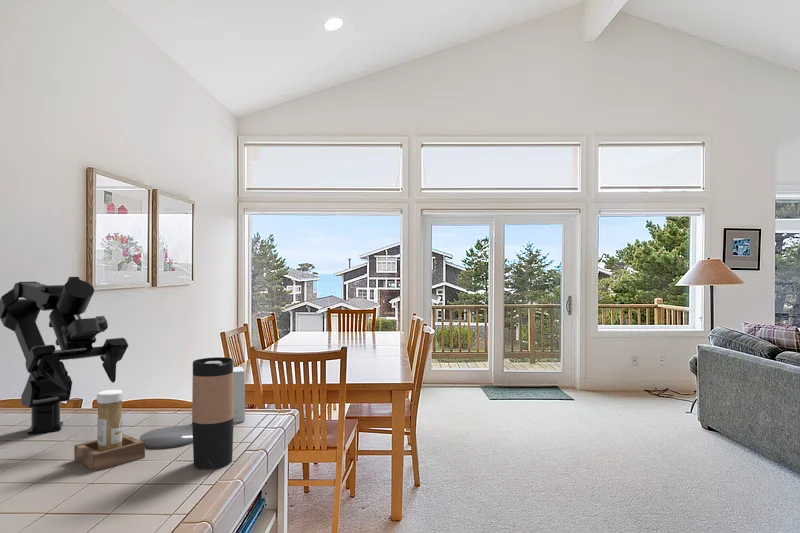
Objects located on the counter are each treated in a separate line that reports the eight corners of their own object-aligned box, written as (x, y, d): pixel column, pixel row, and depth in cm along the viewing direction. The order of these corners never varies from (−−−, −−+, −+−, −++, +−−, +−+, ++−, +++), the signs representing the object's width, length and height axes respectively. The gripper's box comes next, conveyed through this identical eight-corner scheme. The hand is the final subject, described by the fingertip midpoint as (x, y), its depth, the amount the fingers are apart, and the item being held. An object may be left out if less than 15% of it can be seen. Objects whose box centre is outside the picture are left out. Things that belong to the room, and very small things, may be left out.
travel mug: (198, 456, 108) (198, 357, 108) (237, 455, 109) (237, 356, 109) (186, 470, 100) (186, 364, 101) (228, 469, 101) (228, 363, 101)
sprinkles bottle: (124, 459, 106) (124, 392, 106) (97, 464, 104) (97, 395, 104) (121, 453, 110) (121, 388, 110) (95, 457, 108) (95, 390, 108)
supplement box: (245, 422, 133) (245, 371, 133) (213, 425, 130) (213, 373, 130) (243, 414, 140) (242, 366, 140) (212, 417, 137) (212, 368, 137)
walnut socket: (74, 460, 106) (74, 445, 106) (122, 447, 114) (122, 433, 114) (95, 471, 100) (95, 455, 100) (144, 457, 108) (144, 442, 108)
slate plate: (138, 435, 122) (138, 430, 122) (199, 427, 128) (199, 423, 128) (140, 452, 111) (140, 447, 111) (206, 442, 117) (206, 438, 117)
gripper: (30, 307, 108) (52, 367, 102) (124, 302, 123) (148, 355, 116) (16, 342, 113) (36, 402, 106) (108, 334, 128) (131, 386, 121)
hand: (91, 385), depth 112 cm, fingers open, 9 cm apart
